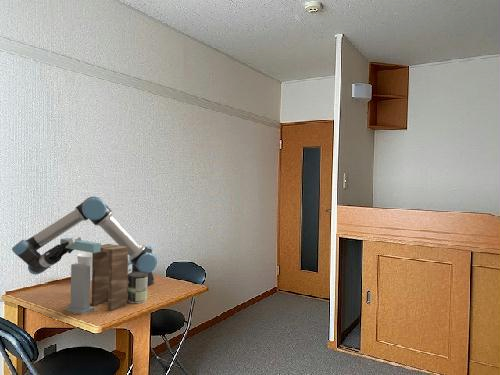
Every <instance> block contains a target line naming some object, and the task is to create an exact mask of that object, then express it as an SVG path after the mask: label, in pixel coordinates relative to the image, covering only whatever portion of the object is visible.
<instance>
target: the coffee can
mask: <svg viewBox="0 0 500 375" xmlns="http://www.w3.org/2000/svg"><path fill="white" fill-rule="evenodd" d="M127 276H128V292H127V302H128V303H129V304H130V303H131V304H140V303H145V302H147V300H148V286H147V282H148V273H146V272H131V273H129V274H127Z"/></svg>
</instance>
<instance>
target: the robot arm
mask: <svg viewBox="0 0 500 375" xmlns="http://www.w3.org/2000/svg"><path fill="white" fill-rule="evenodd" d="M88 220H89V221H90V222H91V223H92V224H94V226H97V227H100V228H101V229H102V230H103V231H104V232H105V233H106V234H107V235H108V236H109V237H110V238H111V239H112V240H113V241H114V242H115V243H116V245H119V246H126V247H128V256H129V260H130V261H131V262H132V272H146V273H148V282H147V287H149V286H151V285H153V284H155V277H154V274H153V271H154V270H155V269H157V268H156V267H157V265H158V259H157V256H156V255H155V254H154V253H153V247H152V245H144V244H142V245H141V244H140V243H139V241H138V240H136V239H135V237H134V236H133V235H132V234H131V233H130V232H129V231H128V230H127V229H126V228H125V227H124V226H123V225H122V224H121V223H120V221H118V220H117V218H116V217H115V216H114V215H113V210H112V209H111V208H110V207H109V206H108V205H107V203H105V202H104V201H103V199H102V198H100V197H98V196H89V197H87V198H86V199H85V200H83V201H82V202H81V203H80V204H78V205H77V206H76V207H75V208H74V210H73V211H70V212H69V213H67V214H66V215H64V216H63V217H61V218H60V219H58V220H57V221H55V222H53V223H51V224H50V225H49V226H47V227H45V228H44V229H42V230H40V231H39V232H38V233H36V234H34V235H33V236H31V237H29V238H28V239H21V240H19V242H17V243H16V244H15V245H14V246H13V247H11V251H12V252H13V253H14V254H15V255H16V256H17V257H19V259H21V260H22V261H23V262H24V263H25V264H26V265H27V269H28V270H27V271H28V272H29V273H30V274H31V275H34V276H36V275H40V274H42V273H44V272H45V271H46V270H48V269H51V268H52V266H53V265H55V264H57V263H59V262H60V261H61V260H62V257H63V256H64V255H66V254H71V253H73V251H75V250H74V249H68V247H69V246H70V245H72V244H73V243H75V241H74V239H75V238H74V237H69V238H70V239H69V240H68V241H66V242H65V243H62V244H61V245H60V243H58V244H57V245H54V246H53V247H52V248H50V249H48V250H47V251H45V252H43V253H42V254H41V253H40V252H38V250H40V249H41V248H43V247H44V246H45V245H47V244H48V243H50V242H52V241H53V240H55V239H56V238H58V237H59V236H61V235H63V234H64V233H66V232H68V231H69V230H70V229H72V228H74V227H75V226H77V225H78V224H81V222H84V221H88ZM76 239H77V240H83V241H84V239H83V236H82V235H80V236H79V237H77V238H76ZM65 247H66V248H65ZM132 272H131V273H132Z"/></svg>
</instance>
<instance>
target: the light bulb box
mask: <svg viewBox="0 0 500 375" xmlns="http://www.w3.org/2000/svg"><path fill="white" fill-rule="evenodd" d="M129 273H132V262H131V261H130V260H129V255H128V270H127V275H128V274H129Z"/></svg>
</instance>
